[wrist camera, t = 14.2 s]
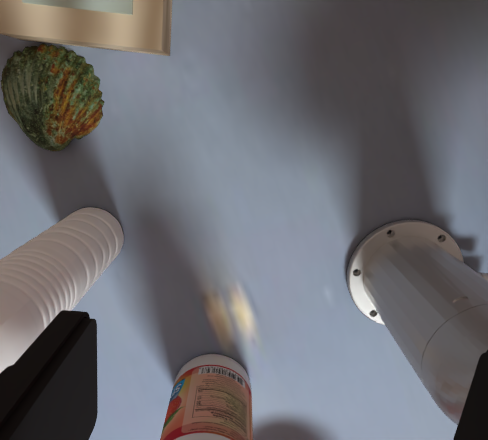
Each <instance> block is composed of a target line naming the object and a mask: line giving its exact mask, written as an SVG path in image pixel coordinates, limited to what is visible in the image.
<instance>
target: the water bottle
mask: <svg viewBox="0 0 488 440" xmlns="http://www.w3.org/2000/svg"><path fill="white" fill-rule="evenodd" d="M123 242H124V235H123V232H122V228H121V225H120V224H119V222H118V221H117V219H116V218H115V217H113V216H112V215H111V214H110V213H109V212H107V211H105V210H102V209H99V208H93V207H87V208H82V209H79V210H77V211H75V212H73V213H72V214H70V215H69V216H67V217H66V218H64V219H63V220H61V221H59V222H58V223H57V224H55V225H53V226H52V227H50V228H49V229H48V230H46V231H44V232H42V233H41V234H39V235H38V236H37V237H35V238H33V239H31V240H30V241H28V242H27V243H26V244H24V245H22V246H20V247H19V248H17V249H16V250H14V251H13V252H12V253H10V254H9V255H7V256H6V257H4V258H2V259H1V260H0V373H1V372H2V371H3V370H4V369H5V368H7V367H8V366H11V365H14V364H15V362H16V361H17V360H18V359H19V358H20V357H21V356H22V354H23V353H24V352H25V351H26V350H27V349H28V348H29V346H30V345H31V344H32V343H33V342H34V341H35V340H36V339H37V337H38V336H39V335H40V334H41V333H42V332H43V331H44V329H45V328H46V327H47V326H48V325H49V324H50V323H51V321H52V320H53V319H54V318H55V317H56V316H57V315H58V314H59V312H61V311H62V310H68V311H71V310H72V309H73V308H74V307H75V306H76V305H77V304H78V302H79V301H80V300H81V298H82V297H83V296H84V295H85V294H86V293H87V291H88V290H89V289H90V287H91V286H92V285H93V284H94V283H95V282H96V280H97V279H98V278H99V277H100V276H101V274H102V273H103V272H104V270H105V269H106V268H107V267H108V266H109V265H110V263H111V262H112V261H113V260H114V259H115V258H116V257H117V255H118V254H119V253H120V251H121V249H122V246H123Z"/></svg>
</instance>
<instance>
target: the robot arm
mask: <svg viewBox="0 0 488 440" xmlns="http://www.w3.org/2000/svg"><path fill="white" fill-rule="evenodd" d="M389 230H390V232H389V233H387V232H388V231H389ZM438 236H439V237H438ZM355 269H357V270H356V271H354V270H355ZM347 284H348V290H349V293H350V295H351V297H352V300H353V301H354V303H355V305H356V306H357V308H358V309H359V310H360V311H361V312H362V313H363V314H364V315H365V316H366V317H368V318H369V319H371V320H373V321H375V322H377V323H379V324H382V325H385V326H386V327H387V329H388V330H389V332H390V333H391V335H392V337H393V338H394V340H395V341H396V343H397V344H398V346H399V347H400V349H401V350H402V352H403V354H404V355H405V357H406V358H407V360H408V361H409V363H410V364H411V366H412V368H413V369H414V371H415V372H416V374H417V375H418V377H419V378H420V380H421V382H422V383H423V385H424V386H425V388H426V389H427V391H428V392H429V394H430V395H431V397H432V398H433V400H434V401H435V403H436V404H437V405H438V407H439V408H440V409H441V410H442V412H443V413H444V414H445V415H446V416H447V417H448V418H449V419H451V420H452V421H453V422H454V423H456V424H457V425H458V427H457V430H456V433H455V436H454V440H488V273H476V271H474V270H473V269H472V268H470V267H469V266H467V265H466V264H465V263H464V261H463V257H462V253H461V250H460V248H459V247H458V245H457V243H456V242H455V240H454V239H453V238H452V237H451V236H450V235H449V234H448V233H446V232H445V231H443V230H442V229H441V228H439V227H437V226H435V225H433V224H431V223H428V222H424V221H419V220H400V221H396V222H392V223H388V224H386V225H384V226H382V227H380V228H378V229H376V230H375V231H373V232H372V233H370V234H369V235H368V236H367V237H366V238H365V239H364V240H363V241H362V242H361V243H360V244H359V245H358V247H357V248H356V250H355V251H354V253H353V255H352V257H351V259H350V262H349V266H348V270H347ZM96 418H97V324H96V320H95V319H90V317H89V314H88V313H87V312H80V311H68V310H62V311H61V312H59V314H58V315H57V316H56V317H55V318H54V319H53V320H52V321H51V323H50V324H49V325H48V326H47V327H46V328H45V329H44V331H43V332H42V333H41V334H40V335H39V336H38V337H37V339H36V340H35V341H34V342H33V343H32V344H31V345H30V346H29V348H28V349H27V350H26V351H25V352H24V353H23V354H22V356H21V357H20V358H19V359H18V360H17V361H16V362H15V364H14V365H11V366H8V367H7V368H5V369H4V370H3V371H2V372H1V373H0V440H89V437H90V435H91V433H92V431H93V429H94V426H95V423H96Z"/></svg>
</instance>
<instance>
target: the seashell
mask: <svg viewBox="0 0 488 440" xmlns="http://www.w3.org/2000/svg"><path fill="white" fill-rule="evenodd" d="M1 85H2V87H1V88H2V91H3V95H4V102H5V104H6V108H7V110H8V113H9V114H10V115H11V116H12V117H13V118H14V120H15V121H16V122H17V123H18V124H19V126H20V128H21V129H22V131H23V132H24V133H25V134H26V135H27V136H28V137H29V138H30V139H31V140H32V141H33V142H34V143H35V144H37V145H38V146H40V147H42V148H44V149H46V150H50V151H60V150H63V149H64V148H65V147H66V146H67V145H68V144H69V143H70V142H71V140H72V139H73V138H76V139H81V138H82V137H83V136H86V135H88V134H89V133H90V132H92V130H94V129H95V128H96V127H97V126H98V124H99V122H100V120H101V118H102V116H103V113H102V106H103V105H104V101H103V100H102V99H101V97H102V92H101V91H100V90H99V89H98V88H99V85H100V79H99V78H98V77H97V76H95V75H94V69H93V66H92V65H90V64H87V63H86V61H85V58H84V57H79V56H77V55H76V53H75V52H74V51H70V52H67V50H66V49H65V47H61V48H59V49H58V48H57V47H56V46H54V45H51V46H47V45H46V44H40V45H39V47H37V46H31V47H25V49H24V50H23V52H20V51H17V52H14V53H13V57H12V58H10V59H8V60H7V65H6V66H5V68H4V69H3V72H2V80H1Z"/></svg>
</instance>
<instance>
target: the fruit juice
mask: <svg viewBox="0 0 488 440" xmlns="http://www.w3.org/2000/svg"><path fill="white" fill-rule="evenodd" d="M160 440H253V428H252V394H251V384H250V380H249V377H248V375H247V373H246V371H245V370H244V368H243V367H242V366H241V365H240V364H239V363H238V362H236V361H235V360H233V359H231V358H229V357H227V356H223V355H219V354H206V355H201V356H198V357H196V358H193V359H192V360H190V361H189V362H187V363H186V364H185V365H184V366H183V367H182V368H181V370H180V371H179V373H178V375H177V377H176V379H175V382H174V386H173V390H172V394H171V398H170V402H169V406H168V410H167V414H166V418H165V423H164V427H163V431H162V435H161V439H160Z"/></svg>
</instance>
